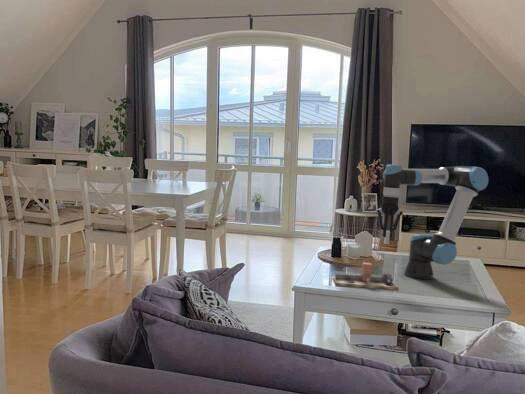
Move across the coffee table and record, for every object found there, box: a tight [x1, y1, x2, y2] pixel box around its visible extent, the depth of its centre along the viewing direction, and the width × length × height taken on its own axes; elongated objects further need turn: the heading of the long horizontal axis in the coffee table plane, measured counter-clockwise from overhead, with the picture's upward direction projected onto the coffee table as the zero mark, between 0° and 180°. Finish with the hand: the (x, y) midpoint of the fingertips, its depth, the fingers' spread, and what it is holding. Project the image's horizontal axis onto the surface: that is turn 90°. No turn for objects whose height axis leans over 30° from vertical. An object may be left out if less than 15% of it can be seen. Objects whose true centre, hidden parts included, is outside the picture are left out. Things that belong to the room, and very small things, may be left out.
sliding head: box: [360, 261, 373, 282], centre depth 238 cm, size 4×8×8 cm, turn 179°
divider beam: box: [334, 272, 394, 284], centre depth 238 cm, size 28×7×6 cm, turn 89°
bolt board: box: [331, 276, 399, 291], centre depth 238 cm, size 30×12×1 cm, turn 89°
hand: (386, 243), depth 239 cm, fingers closed
